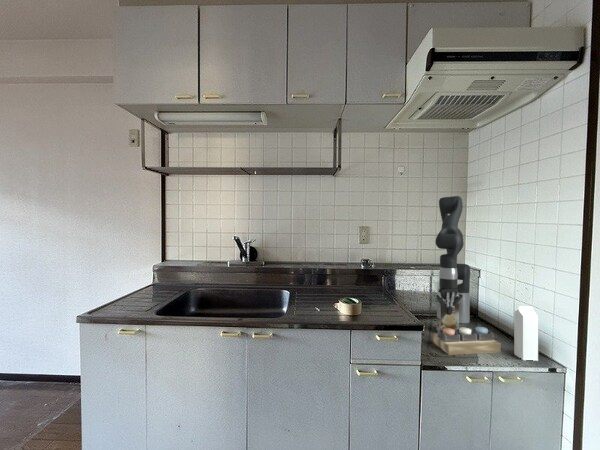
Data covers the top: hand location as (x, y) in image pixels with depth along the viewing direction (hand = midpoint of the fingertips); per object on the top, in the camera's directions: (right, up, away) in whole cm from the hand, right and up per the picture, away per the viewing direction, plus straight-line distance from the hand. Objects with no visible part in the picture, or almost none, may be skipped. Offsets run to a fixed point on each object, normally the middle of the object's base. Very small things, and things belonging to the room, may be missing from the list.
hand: (448, 314), depth 139 cm
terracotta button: (0, -10, 0) cm, 10 cm away
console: (+8, -15, +1) cm, 17 cm away
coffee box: (+9, -15, +19) cm, 26 cm away
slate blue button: (+16, -9, +1) cm, 19 cm away
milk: (+28, -16, -10) cm, 34 cm away
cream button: (+8, -10, +1) cm, 13 cm away
